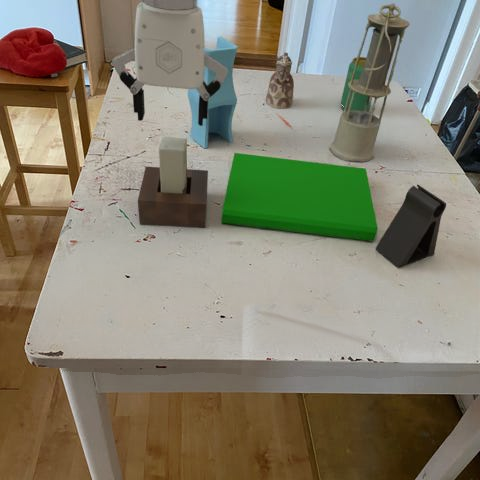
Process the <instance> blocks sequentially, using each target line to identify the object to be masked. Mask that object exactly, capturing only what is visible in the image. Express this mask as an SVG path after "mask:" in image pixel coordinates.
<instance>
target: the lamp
mask: <svg viewBox="0 0 480 480" xmlns="http://www.w3.org/2000/svg"><path fill="white" fill-rule="evenodd" d="M387 9H388V10H387ZM384 10H387V12H385V11H384ZM394 11H396V12H397V14H395V12H394ZM401 15H402V10H401V9H400V7H399V6H397V5H396V4H395V3H390V4H385V5H382V6H380V8H379V13H375V14H369V15H367V24H366V26H365V32H364V35H363V39H362V42H361V45H360V47H359V50H358V53H357V56H356V57H357V59H356V63H355V68H354V71H353V76H352V78H351V81H350V82H349V83H348V86H349V88H350V91H349V95H348V98H347V102H346V106H345V109H344V110H343V111H342V113H341V114H340V116H339V121H338V125H337V128H336V132H335V134H334V139H333V142H332V143H331V144H330V146H329V149H330V151H331V154H333V155H334V156H335V157H337V158H339V159H340V160H343V161H349V162H367V161H368V162H369V161H371V160H372V159H373V158H374V155H375V151H374V148H375V144H376V142H377V138H378V134H379V130H380V127H381V123H382V118H383V114H384V111H385V106H386V102H387V98H388V96H389V95H390V94H391V93H392V90H391V88H390V83H391V81H392V79H393V76H394V72H395V67H396V65H397V58H398V53H399V50H400V47H401V44H402V42H403V38H404V35H405V31H406V29H407V28H409V27H410V25H411V24H410V22H409V21H408V20H406V19H404V18H401ZM370 28H373V29H372V35H371V40H370V43H369V45H368V46H369V47H368V50H367V54H366V56H365V57H366V61H365V65H364V67H363V70H362V73H361V76H360V79H359V80H353V79H354V76H355V72H356V68H357V65H358V61H359V58H360V57H361V55H362V51H363V48H364V45H365V41H366V38H367V35H368V31H369V29H370ZM353 42H355V40H353ZM397 42H398V44H397ZM396 46H397V48H396ZM395 50H396V51H395ZM394 53H395V56H394ZM393 57H394V59H393ZM392 60H393V61H392ZM391 64H392V65H391ZM390 67H391V68H390ZM389 70H390V73H389ZM388 74H389V76H388ZM387 78H388V79H387ZM386 81H387V84H386ZM352 91H353V94H352V99H351V102H350V105H349V109H348V111H347V107H348V104H349V100H350V96H351V92H352ZM354 93H359V94H361V95H368V98H367V102H366V106H365V110H364V111H355V110H351V106H352V102H353V96H354ZM370 96H371V97H372V99H373V98H374V99H373V104H372V109H371V111H370V110H367V111H366V109H367V106H368V103H369V99H370ZM380 98H383V101H382V106H381V109H380V113H379V116H376V115H374V112H375V109H376V107H375V106H376V103H377V100H378V99H380Z"/></svg>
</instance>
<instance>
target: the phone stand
mask: <svg viewBox="0 0 480 480" xmlns="http://www.w3.org/2000/svg"><path fill="white" fill-rule="evenodd" d="M446 208H447V202H445V201H444V200H442V199H441V198H440V197H438V196H437V195H434V194H433V193H432V192H430V191H429V190H427V189H426V188H425V187H422V186H421V185H420V184H419V183H418V184H416V186H415V185H412V186H411V187H410V188H409V189H408V190H407V192H406V194H405V198H404V200H403V202H402V203H401V206H400V207H399V209H398V211H397V212H396V214H395V216H394V217H393V218H392V221H391V222H390V224H389V225H388V227H387V229H386V230H385V232H384V233H383V235H382V237H381V238H380V240H379V241H378V243H377V245H376V246H375V250H376V251H377V252H378V253H380V254H381V255H382V256H384V258H386V260H388V261H390V262H391V263H392V264H393V265H394V266H396V268H397V269H401V268H404V267H406V266H409V265H411V264H414V263H417V262H419V261H422V260H424V259H428V258H430V257H432V256H434V255H435V253H436V252H435V251H436V247H437V243H438V236H439V230H440V226H441V220H442V217H443V214H444V212H445V210H446Z"/></svg>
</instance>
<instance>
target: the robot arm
mask: <svg viewBox="0 0 480 480" xmlns="http://www.w3.org/2000/svg"><path fill="white" fill-rule="evenodd" d="M136 5H137V6H136V13H135V23H134V47H132V48H130V49H128V50H127V51H124V52H122V53H120V54H118V55H116V56H114V57H113V58H112V61H111V64H112V66H113V68H114V70H115V72H116V73H117V74H118V76H119V80H120V81H121V82H122V83H123V84H124V85H125V86H126V87H127V89H128V90H129V92H130V93H131V94H132V104H133V105H132V106H133V113H136V114H137V121H138V122H139V121H143V120H144V117H145V114H146V110H145V109H146V107H145V90H144V89H143V87H144V85H146V86H151V87H152V86H153V87H162V88H170V89H171V88H172V89H185V90H188V89H196V90H197V91H198V93H199V94H200V96H199V116H198V125H199V126H203V119H207V115H208V100H209V99H210V97H211V96H212V95H214V94H215V93H216V92H217V91H218V90H219V89H220V87H221V85H222V83H223V82H224V80H225V78H226V77H227V75H228V69H227V68H226V67H224V66H223V65H222V64H220V63H219V62H217V61H216V60H214V59H213V58H211V57H210V56H208V55H207V54H205V48H206V47H205V46H206V45H205V44H206V43H205V41H206V40H205V24H204V23H205V22H204V16H203V10H202V8H201V7H199V6H198V0H141V2H139V3H138V4H136ZM133 61H134V69H135V71H134V72H135V78H134V76H133V75H132V74H131V73H130V72H129V71H128V70H127V67H126V66H125V65H126V64H129V63H132V62H133ZM205 66H206V67H207V68H209V69H210V70H212V71H213V72H215V73H216V74H217V75H216V77H215V79H214V80H213V81H212V82H211V83H210V84H209V85H207V84H206V82H205V81H204V69H205Z"/></svg>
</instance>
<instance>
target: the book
mask: <svg viewBox="0 0 480 480" xmlns="http://www.w3.org/2000/svg"><path fill="white" fill-rule="evenodd" d="M229 172H230V173H229V177H228V180H227V187H226V191H225V196H224V201H223V205H222V210H221V211H222V212H221V224H227V225H236V226H245V227H251V228H260V229H267V230H268V229H269V230H277V231H285V232H293V233H301V234H309V235H316V236H317V235H318V236H326V237H334V238H342V239H351V240H357V241H367V242H374V241H375V239H376V237H377V234H378V223H377V217H376V214H375V213H376V212H375V208H374V202H373V197H372V192H371V187H370V182H369V177H368V173H367V168H366V167H365V168H364V167H357V166H349V165H341V164H340V165H339V164H331V163H325V162H324V163H322V162H316V161H307V160H298V159H290V158H281V157H273V156H265V155H258V154H248V153H240V152H233V158H232V162H231V167H230V171H229Z"/></svg>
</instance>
